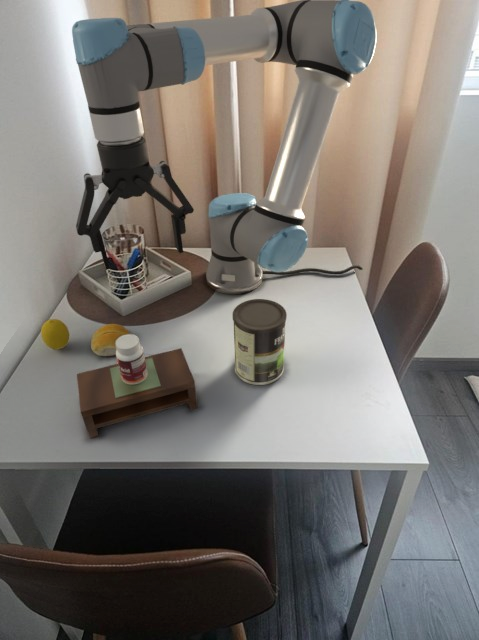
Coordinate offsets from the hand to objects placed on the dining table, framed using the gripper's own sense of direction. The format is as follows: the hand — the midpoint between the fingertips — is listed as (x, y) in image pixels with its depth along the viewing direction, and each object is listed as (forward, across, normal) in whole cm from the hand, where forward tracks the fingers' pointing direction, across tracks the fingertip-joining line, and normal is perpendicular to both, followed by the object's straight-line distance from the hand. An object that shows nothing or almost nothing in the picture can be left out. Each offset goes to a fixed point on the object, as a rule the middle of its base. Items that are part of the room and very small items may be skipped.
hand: (144, 257), depth 82 cm
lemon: (+24, +21, -11) cm, 34 cm away
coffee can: (+25, -18, +12) cm, 33 cm away
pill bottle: (+17, +7, +12) cm, 22 cm away
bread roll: (+24, +10, -8) cm, 27 cm away
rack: (+24, +8, +12) cm, 28 cm away
